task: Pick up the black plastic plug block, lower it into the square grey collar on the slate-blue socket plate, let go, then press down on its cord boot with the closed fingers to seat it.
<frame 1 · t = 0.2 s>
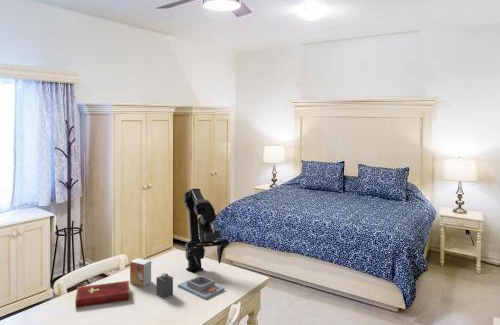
hand: (209, 264, 160), 15 cm above the table, tool tilted 30°, fingers open, 9 cm apart
socket block: (201, 288, 170), on the table
small box: (140, 283, 174), on the table
hardcover book: (103, 299, 159), on the table
plug: (164, 294, 163), on the table
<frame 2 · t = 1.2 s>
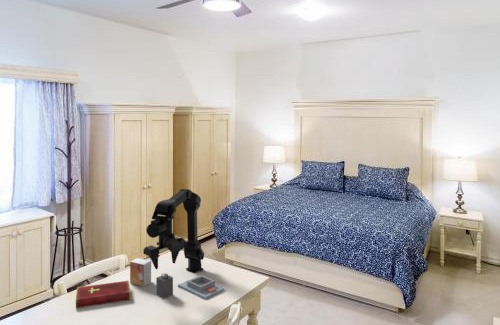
hand: (165, 266, 161), 13 cm above the table, tool pointing down, fingers open, 9 cm apart
nothing on the table moved.
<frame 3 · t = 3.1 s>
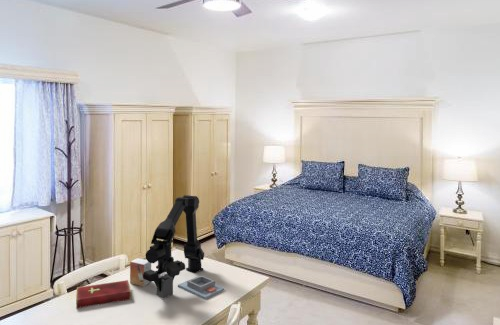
hand: (164, 289, 163), 3 cm above the table, tool pointing down, fingers closed on plug, 5 cm apart
plug: (164, 294, 163), on the table, touching gripper
everything else where it was.
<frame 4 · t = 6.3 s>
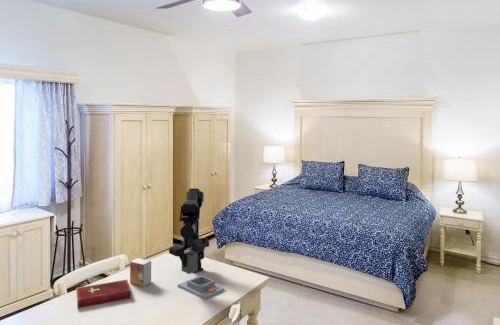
hand: (189, 265, 166), 12 cm above the table, tool pointing down, fingers closed on plug, 5 cm apart
plug: (189, 270, 167), point 9 cm above the table, touching gripper
everything else where it was.
when the fingers open (4 cm above the table, at t = 9.4 s): plug stays where it is, resting on socket block.
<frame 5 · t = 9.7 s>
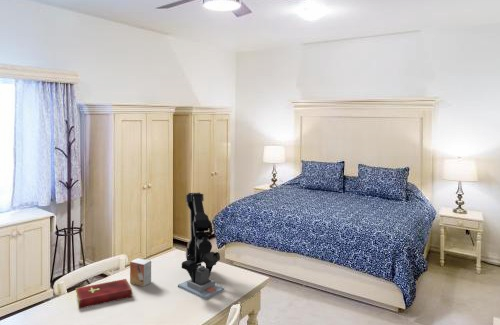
hand: (201, 278, 170), 4 cm above the table, tool pointing down, fingers open, 9 cm apart
plug: (201, 286, 170), point 1 cm above the table, touching socket block
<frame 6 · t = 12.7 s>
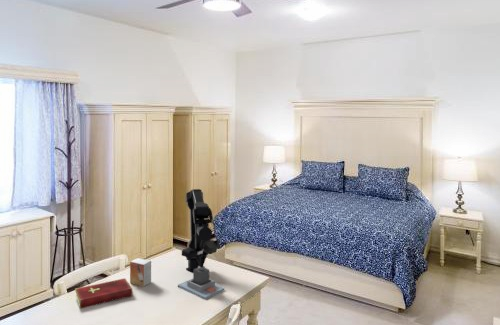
hand: (201, 267, 169), 10 cm above the table, tool pointing down, fingers closed, pressing on plug
plug: (201, 286, 170), point 1 cm above the table, touching gripper, socket block
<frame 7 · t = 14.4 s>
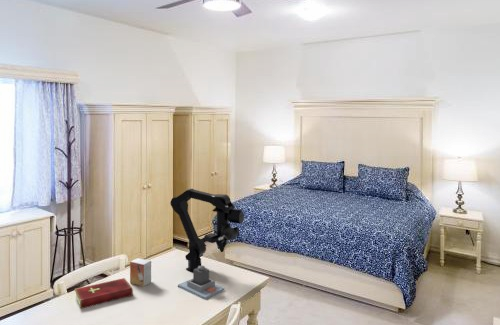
hand: (221, 251, 183), 12 cm above the table, tool pointing down, fingers closed
plug: (201, 286, 170), point 1 cm above the table, touching socket block
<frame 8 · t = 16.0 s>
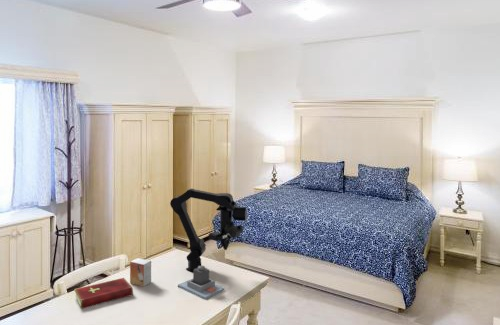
hand: (225, 249, 186), 12 cm above the table, tool pointing down, fingers closed
at the end: plug 0.0 cm off-centre on the socket block, point 1.0 cm above the socket block's base; plug tilted 0°; the gripper is holding nothing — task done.
